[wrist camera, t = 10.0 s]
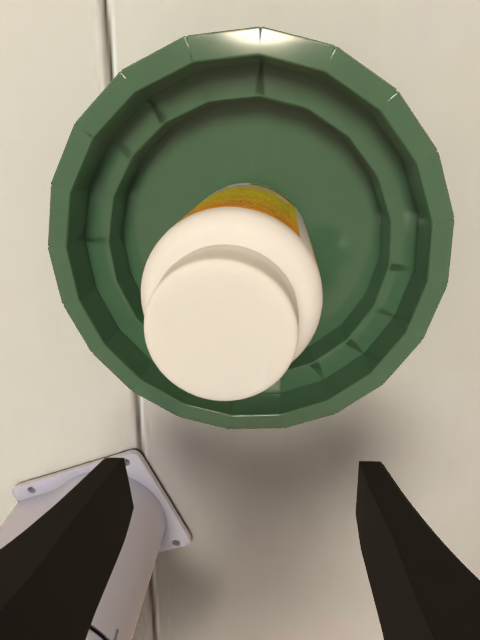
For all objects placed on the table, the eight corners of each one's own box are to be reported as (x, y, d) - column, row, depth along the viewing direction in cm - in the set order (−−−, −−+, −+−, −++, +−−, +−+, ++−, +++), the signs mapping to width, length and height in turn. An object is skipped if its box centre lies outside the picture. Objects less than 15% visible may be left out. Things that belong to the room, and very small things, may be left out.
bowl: (176, 414, 25) (158, 465, 21) (30, 148, 20) (-30, 150, 16) (453, 328, 21) (491, 369, 18) (361, -23, 16) (385, -73, 13)
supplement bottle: (167, 217, 20) (66, 288, 11) (274, 157, 19) (268, 176, 9) (225, 317, 22) (182, 454, 12) (327, 269, 20) (368, 381, 11)
